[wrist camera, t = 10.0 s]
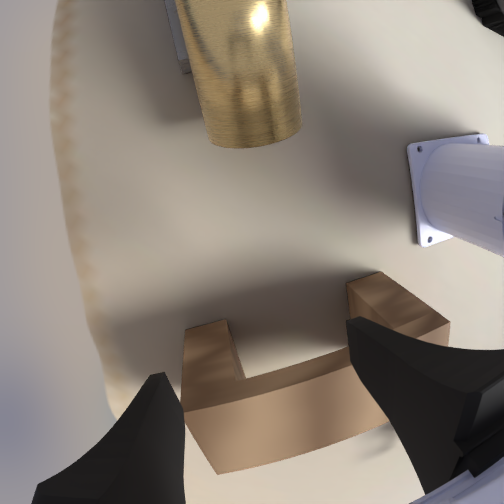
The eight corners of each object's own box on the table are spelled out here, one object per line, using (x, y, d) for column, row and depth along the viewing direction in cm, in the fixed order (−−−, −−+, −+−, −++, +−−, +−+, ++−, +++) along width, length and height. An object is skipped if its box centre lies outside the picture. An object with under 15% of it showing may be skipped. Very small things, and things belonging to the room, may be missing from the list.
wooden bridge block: (381, 271, 23) (450, 322, 15) (384, 335, 25) (440, 395, 17) (185, 329, 22) (179, 413, 14) (210, 390, 24) (217, 474, 16)
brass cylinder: (243, -75, 10) (288, -100, 7) (275, 104, 18) (320, 129, 15) (151, -62, 9) (168, -94, 6) (198, 127, 18) (225, 158, 14)
